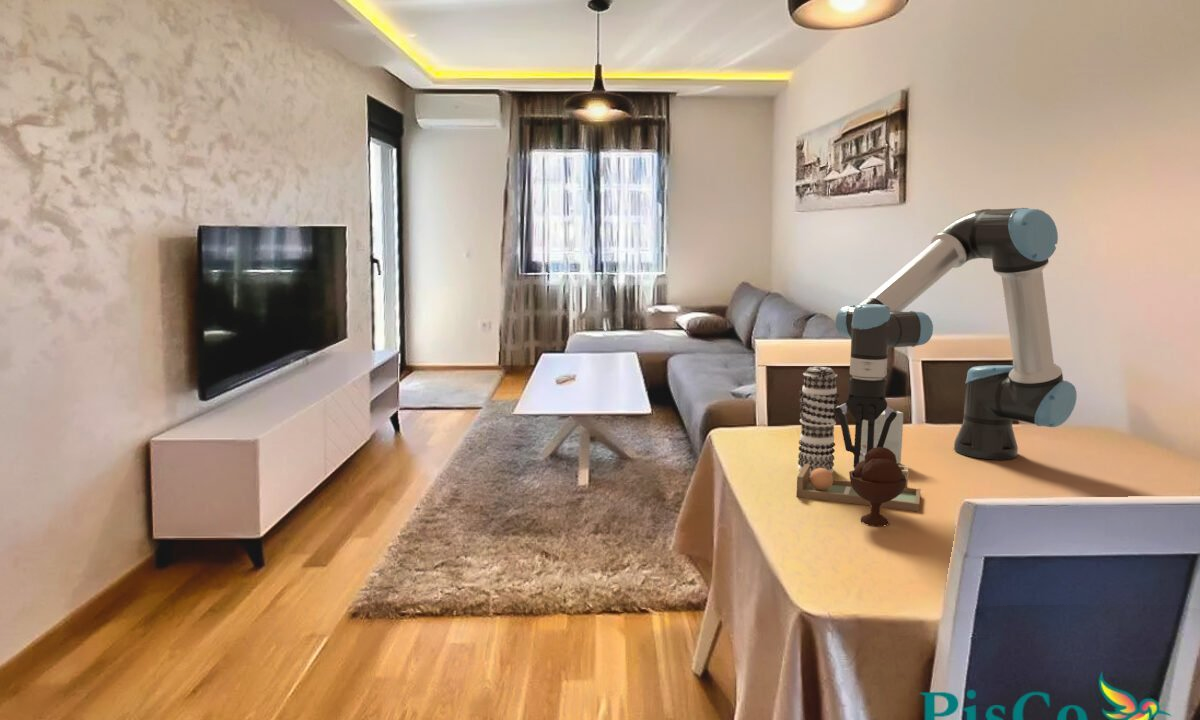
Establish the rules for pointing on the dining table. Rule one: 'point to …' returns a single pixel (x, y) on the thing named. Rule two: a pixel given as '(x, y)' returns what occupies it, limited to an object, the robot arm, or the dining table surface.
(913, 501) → the tray
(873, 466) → the ice cream bowl
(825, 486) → the ball
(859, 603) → the dining table surface
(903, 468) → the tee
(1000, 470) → the dining table surface
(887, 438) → the small box
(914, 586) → the dining table surface
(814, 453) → the decorative candle
